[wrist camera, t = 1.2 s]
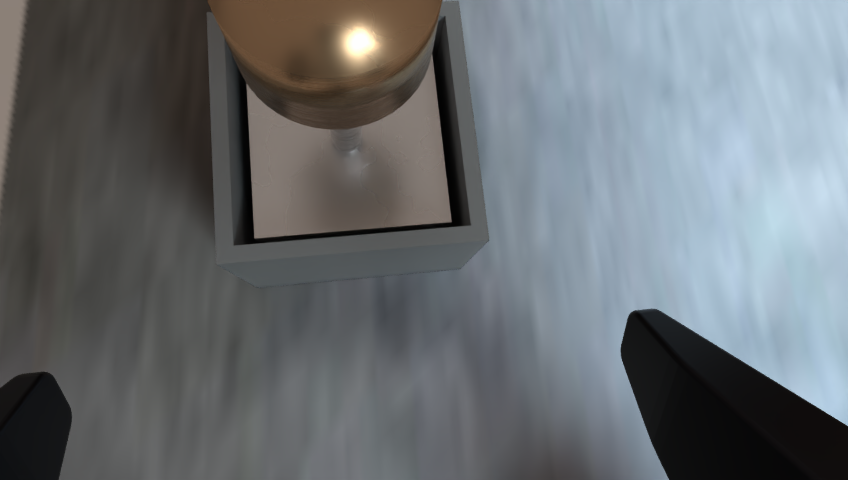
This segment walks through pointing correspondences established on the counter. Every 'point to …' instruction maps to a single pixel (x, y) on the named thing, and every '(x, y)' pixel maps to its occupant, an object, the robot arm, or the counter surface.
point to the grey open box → (351, 251)
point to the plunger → (340, 114)
